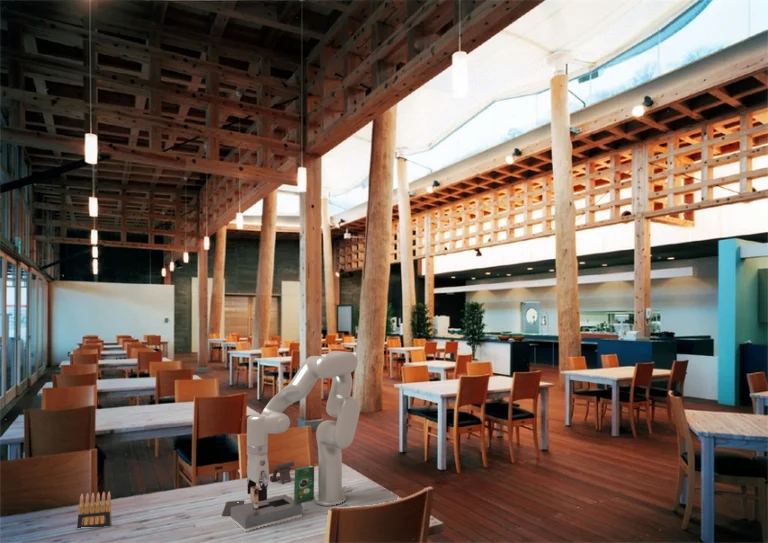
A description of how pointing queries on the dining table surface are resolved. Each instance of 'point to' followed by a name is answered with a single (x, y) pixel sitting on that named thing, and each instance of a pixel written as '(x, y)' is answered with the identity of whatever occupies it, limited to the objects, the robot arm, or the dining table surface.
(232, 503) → the smartphone
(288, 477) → the portable electronic device stand
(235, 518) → the keyhole plate
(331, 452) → the robot arm
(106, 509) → the ammunition clip
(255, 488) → the peg
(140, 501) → the dining table surface
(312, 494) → the coffee box
